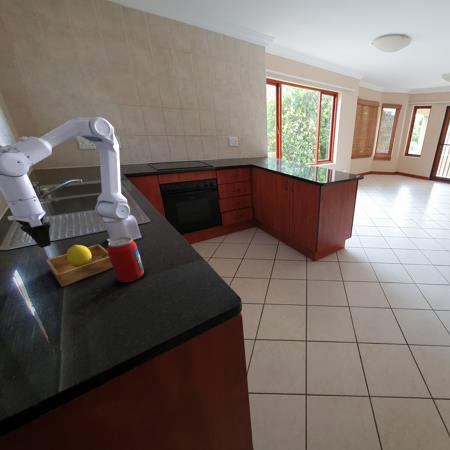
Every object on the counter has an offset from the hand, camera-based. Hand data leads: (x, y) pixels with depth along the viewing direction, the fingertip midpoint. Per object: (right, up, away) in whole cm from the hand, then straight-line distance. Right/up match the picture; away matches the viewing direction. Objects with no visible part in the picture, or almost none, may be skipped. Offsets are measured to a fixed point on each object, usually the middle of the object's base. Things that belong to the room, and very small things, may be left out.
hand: (43, 242), depth 70 cm
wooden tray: (+8, -9, +5) cm, 12 cm away
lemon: (+8, -8, +5) cm, 12 cm away
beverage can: (+26, -11, +1) cm, 28 cm away
